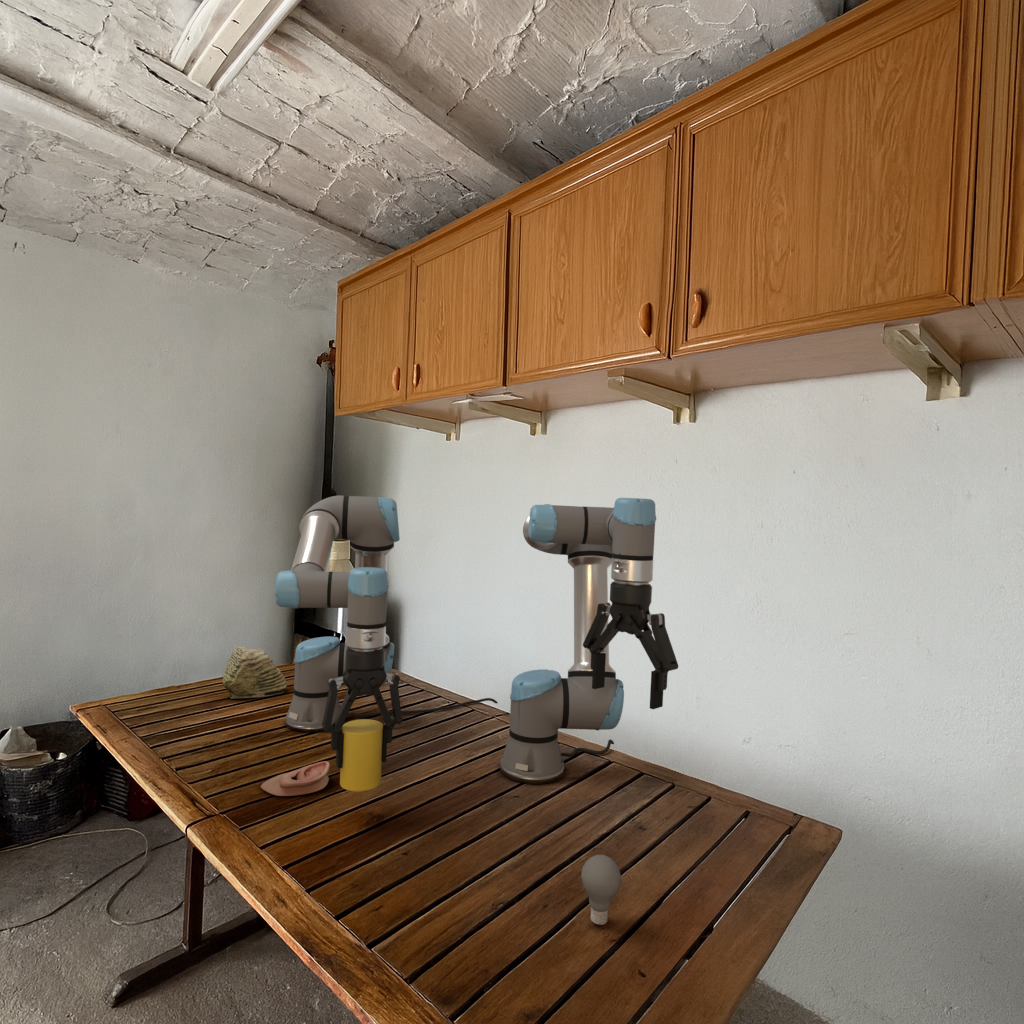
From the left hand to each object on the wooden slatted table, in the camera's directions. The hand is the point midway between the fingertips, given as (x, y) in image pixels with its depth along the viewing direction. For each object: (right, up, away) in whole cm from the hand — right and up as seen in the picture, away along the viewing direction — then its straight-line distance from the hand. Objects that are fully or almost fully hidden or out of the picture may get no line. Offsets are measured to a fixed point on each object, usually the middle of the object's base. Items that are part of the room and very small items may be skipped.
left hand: (361, 762), depth 124 cm
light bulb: (+43, -14, -27) cm, 53 cm away
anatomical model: (-18, -11, +14) cm, 25 cm away
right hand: (+51, +15, -8) cm, 53 cm away
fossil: (-51, -8, +74) cm, 90 cm away
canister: (0, -4, 0) cm, 4 cm away
